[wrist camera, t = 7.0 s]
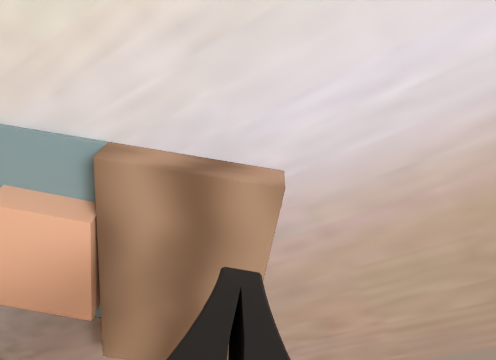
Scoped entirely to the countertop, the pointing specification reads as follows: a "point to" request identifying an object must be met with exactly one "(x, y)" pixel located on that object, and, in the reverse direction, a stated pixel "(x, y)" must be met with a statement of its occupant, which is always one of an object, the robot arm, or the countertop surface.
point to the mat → (48, 163)
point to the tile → (48, 253)
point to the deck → (173, 240)
